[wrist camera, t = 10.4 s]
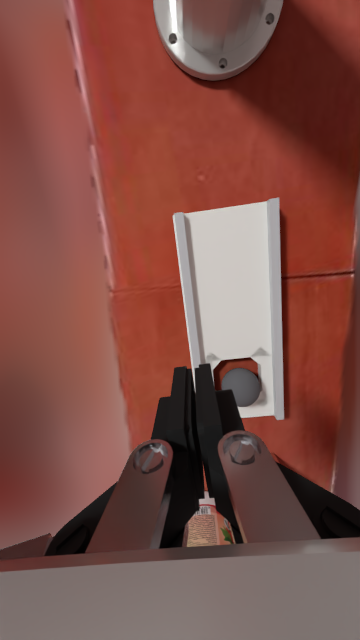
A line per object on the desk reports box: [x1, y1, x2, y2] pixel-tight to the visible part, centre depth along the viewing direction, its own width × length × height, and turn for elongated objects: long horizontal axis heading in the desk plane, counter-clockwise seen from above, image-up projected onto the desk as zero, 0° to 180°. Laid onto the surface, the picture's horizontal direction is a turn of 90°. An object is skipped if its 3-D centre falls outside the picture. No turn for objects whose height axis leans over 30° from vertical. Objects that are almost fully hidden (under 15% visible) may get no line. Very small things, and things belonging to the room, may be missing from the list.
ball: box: [222, 368, 260, 407], centre depth 30 cm, size 5×5×5 cm
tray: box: [173, 198, 284, 420], centre depth 30 cm, size 28×12×2 cm, turn 7°
